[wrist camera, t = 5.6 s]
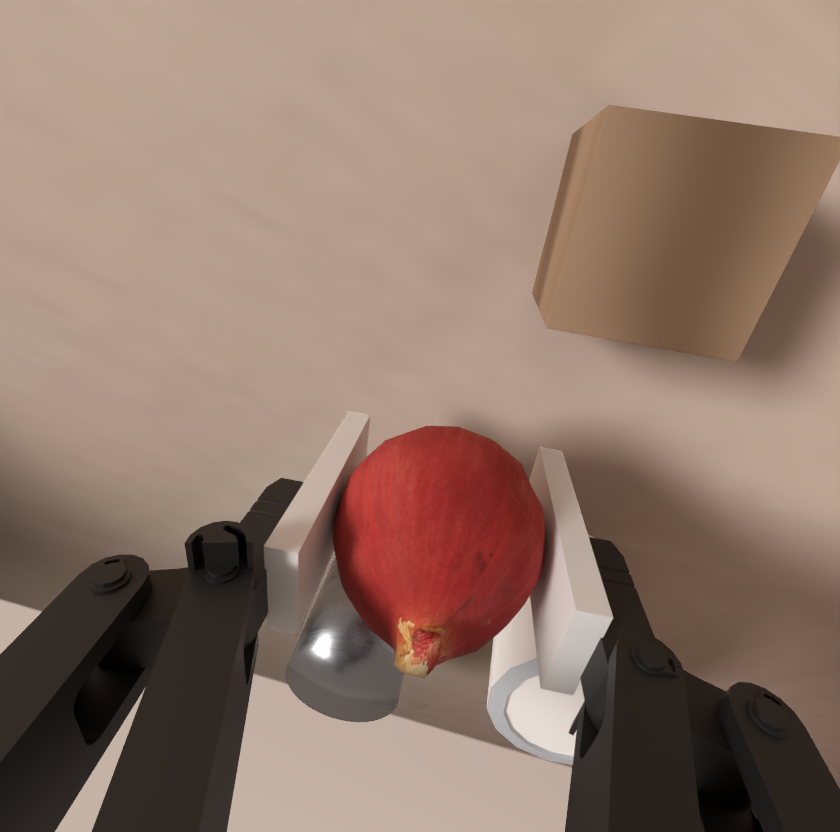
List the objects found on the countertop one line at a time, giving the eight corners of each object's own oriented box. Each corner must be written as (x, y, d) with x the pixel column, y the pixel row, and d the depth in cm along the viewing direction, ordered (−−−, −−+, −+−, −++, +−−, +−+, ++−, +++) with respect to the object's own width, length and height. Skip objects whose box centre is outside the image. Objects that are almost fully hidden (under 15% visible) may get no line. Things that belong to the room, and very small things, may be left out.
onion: (554, 499, 16) (611, 747, 9) (413, 539, 17) (364, 773, 10) (494, 358, 14) (504, 533, 7) (341, 420, 15) (218, 610, 8)
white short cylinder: (557, 636, 24) (579, 789, 18) (460, 570, 23) (449, 709, 17) (661, 572, 21) (733, 729, 15) (556, 492, 20) (585, 626, 14)
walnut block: (532, 292, 16) (546, 328, 12) (572, 134, 14) (609, 104, 9) (669, 315, 16) (737, 361, 11) (733, 157, 14) (851, 138, 9)
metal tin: (329, 600, 25) (286, 706, 20) (333, 536, 23) (285, 637, 18) (413, 618, 25) (391, 732, 20) (425, 556, 23) (405, 665, 17)
